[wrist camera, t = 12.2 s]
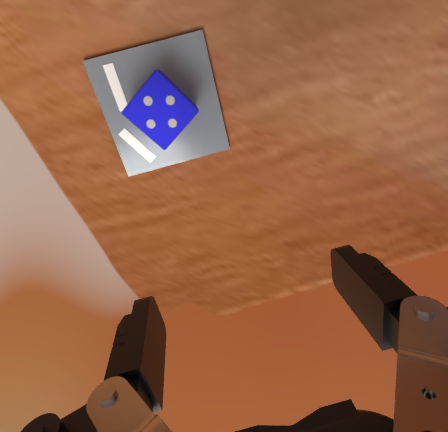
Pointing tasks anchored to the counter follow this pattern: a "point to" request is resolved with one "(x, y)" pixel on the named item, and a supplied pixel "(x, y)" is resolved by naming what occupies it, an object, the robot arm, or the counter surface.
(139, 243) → the counter surface
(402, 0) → the counter surface
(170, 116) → the die
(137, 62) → the tile
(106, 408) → the robot arm
